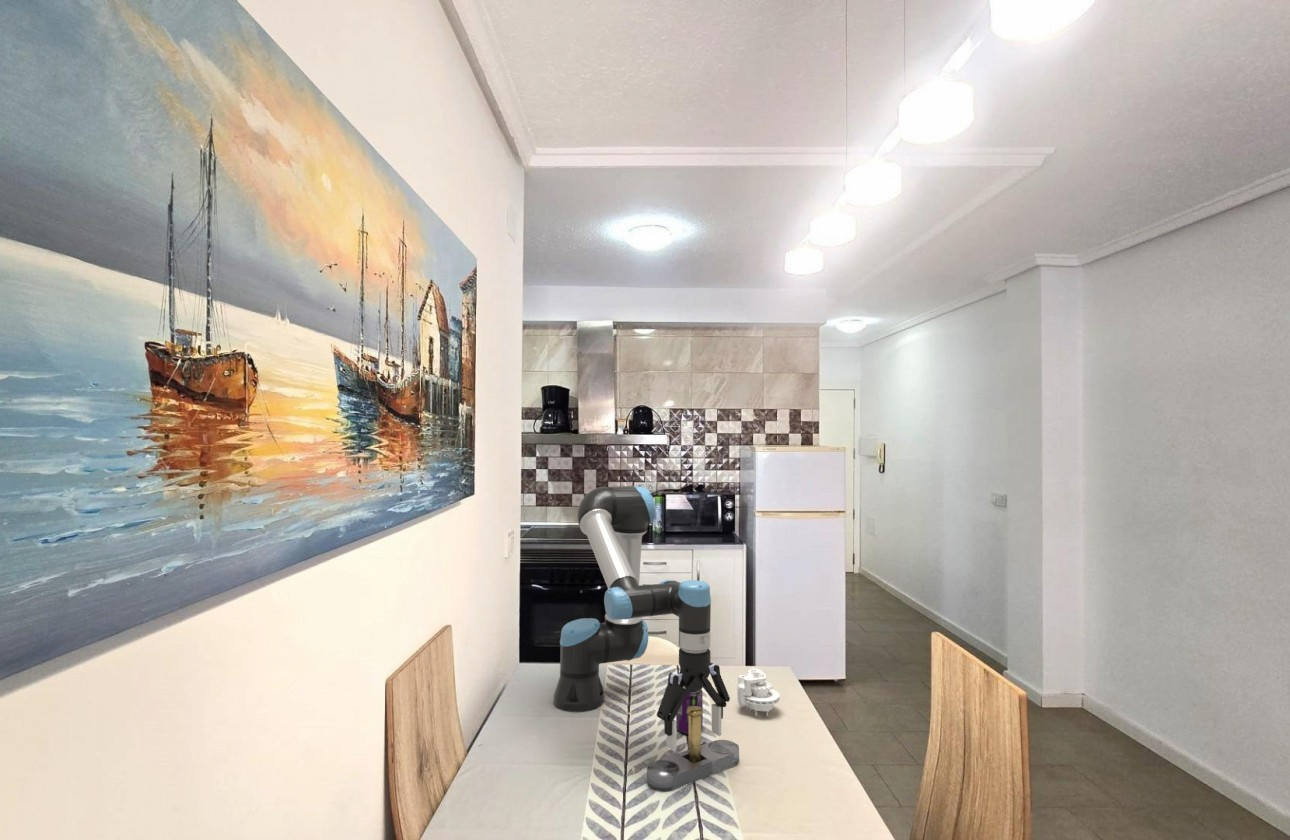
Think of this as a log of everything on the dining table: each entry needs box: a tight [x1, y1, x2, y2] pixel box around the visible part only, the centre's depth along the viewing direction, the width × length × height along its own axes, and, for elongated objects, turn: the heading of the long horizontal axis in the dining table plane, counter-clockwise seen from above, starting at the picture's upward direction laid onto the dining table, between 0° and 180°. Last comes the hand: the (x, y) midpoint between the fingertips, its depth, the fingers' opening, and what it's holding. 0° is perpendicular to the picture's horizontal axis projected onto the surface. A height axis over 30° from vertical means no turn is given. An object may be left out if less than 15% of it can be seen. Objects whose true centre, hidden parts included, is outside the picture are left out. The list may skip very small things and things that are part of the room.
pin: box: [687, 706, 704, 764], centre depth 138 cm, size 4×4×14 cm
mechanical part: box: [736, 667, 780, 717], centre depth 171 cm, size 11×12×12 cm
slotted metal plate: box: [646, 739, 740, 793], centre depth 138 cm, size 7×26×3 cm, turn 124°
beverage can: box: [675, 686, 704, 735], centre depth 159 cm, size 7×7×12 cm
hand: (694, 741), depth 138 cm, fingers open, 13 cm apart
